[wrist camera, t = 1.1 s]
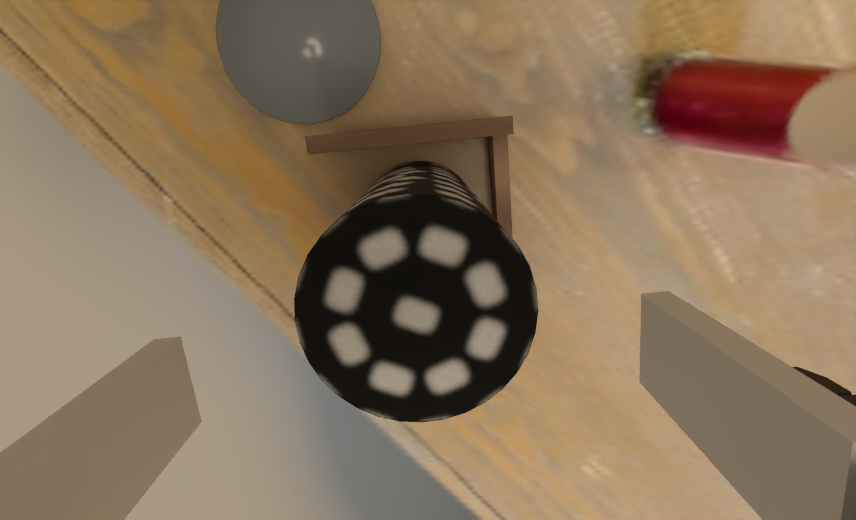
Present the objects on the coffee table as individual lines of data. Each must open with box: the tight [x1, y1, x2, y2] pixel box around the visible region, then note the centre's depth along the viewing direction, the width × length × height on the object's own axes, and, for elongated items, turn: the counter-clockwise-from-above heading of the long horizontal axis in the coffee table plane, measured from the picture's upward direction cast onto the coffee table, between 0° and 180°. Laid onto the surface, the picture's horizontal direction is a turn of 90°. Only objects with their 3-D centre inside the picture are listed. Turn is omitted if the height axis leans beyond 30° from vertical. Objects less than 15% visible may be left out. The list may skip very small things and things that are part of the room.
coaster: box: [216, 0, 381, 124], centre depth 32 cm, size 11×11×1 cm
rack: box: [305, 116, 513, 238], centre depth 32 cm, size 13×12×7 cm
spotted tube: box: [294, 161, 538, 422], centre depth 25 cm, size 8×8×20 cm
